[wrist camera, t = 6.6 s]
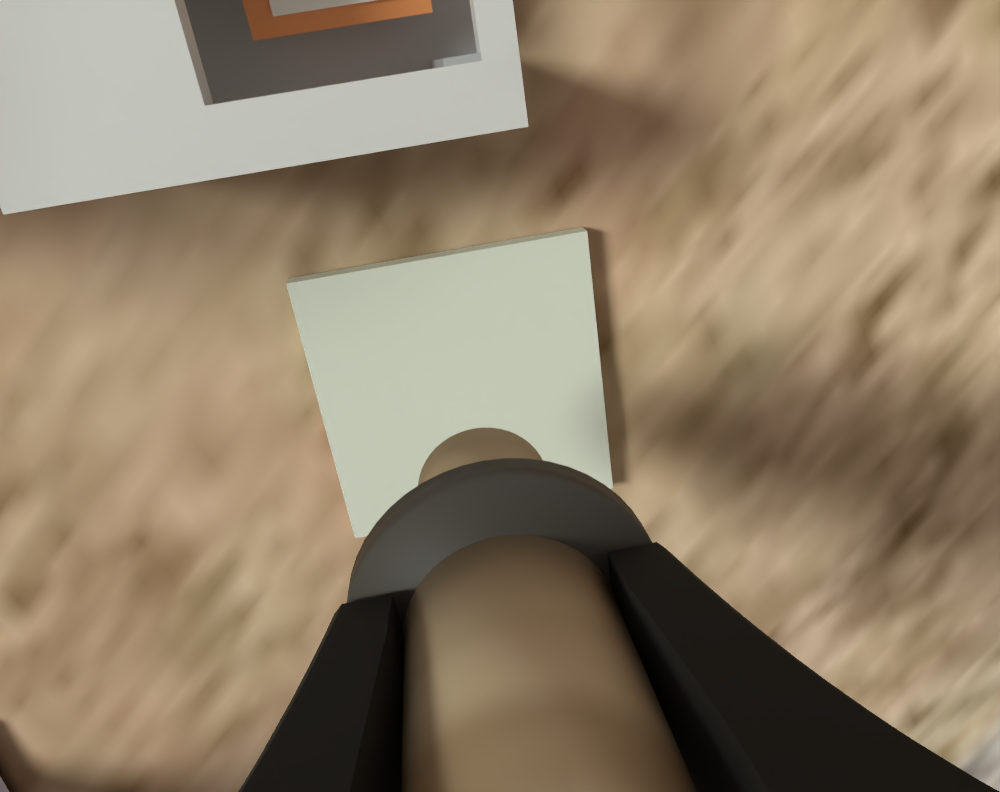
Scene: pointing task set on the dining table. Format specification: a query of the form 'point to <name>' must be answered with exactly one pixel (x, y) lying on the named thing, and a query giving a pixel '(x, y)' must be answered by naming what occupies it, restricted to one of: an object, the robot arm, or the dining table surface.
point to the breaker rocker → (323, 14)
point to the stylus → (515, 628)
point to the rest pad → (454, 360)
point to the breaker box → (233, 92)
